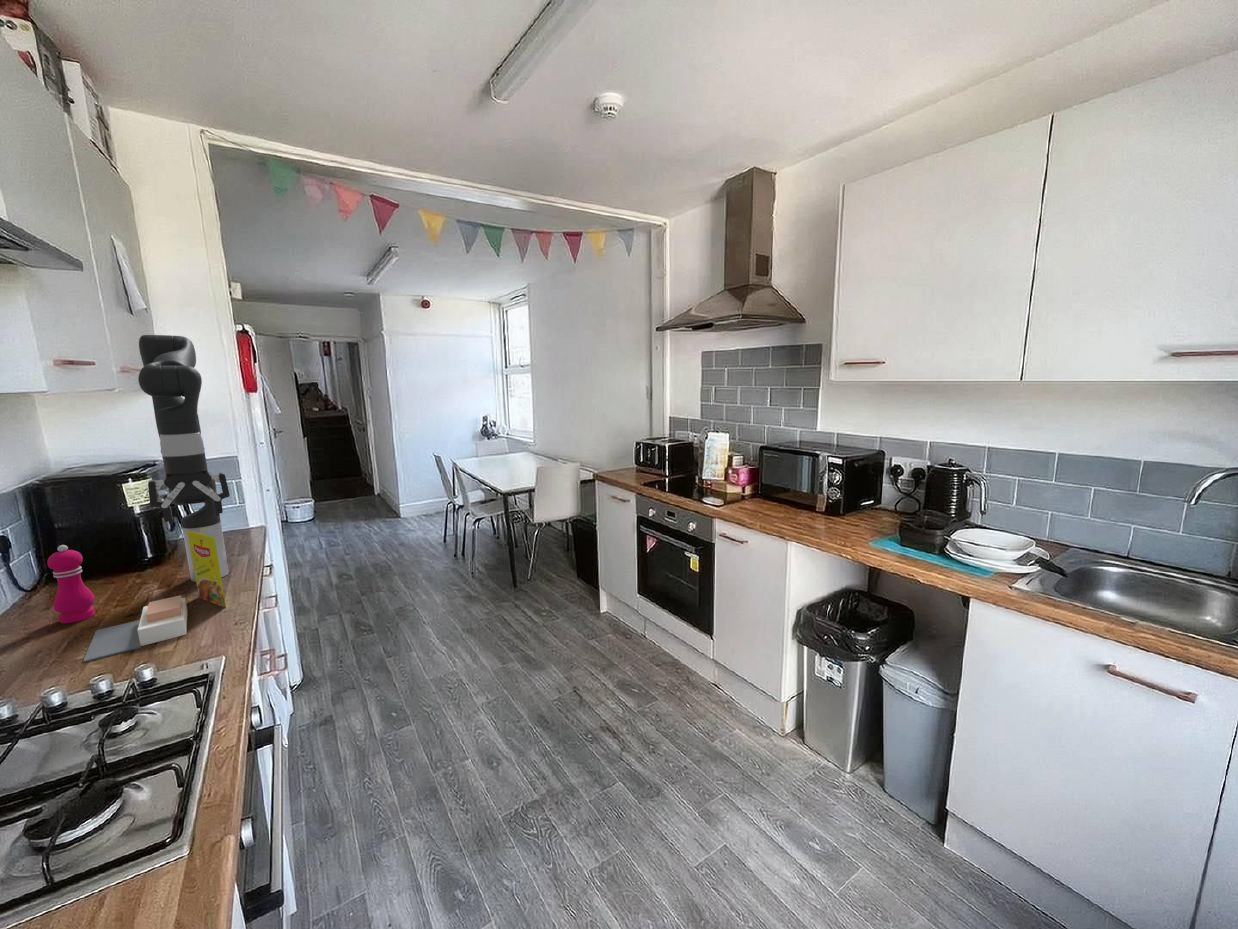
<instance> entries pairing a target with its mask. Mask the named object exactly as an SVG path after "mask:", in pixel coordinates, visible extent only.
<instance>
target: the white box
mask: <svg viewBox="0 0 1238 929" xmlns="http://www.w3.org/2000/svg"><path fill="white" fill-rule="evenodd" d="M181 598H182V611H181V615H178V616H174V617H169V618H165V619H161V620H157V621H153V622H147V617H146V613H147V609H148V605H146V606H143V608H142V613H141V615H140V616H141V617H140V619H139V620H140V623H139V626H138V635H139V641H140V646H141V647H142V646H147V645H150V644H155V643H158V642H162V641H166V640H170V639H174V638H178V637H182V636H185V635H187V628H188V626H187V625H188V605H187V600H186V597H181Z"/></svg>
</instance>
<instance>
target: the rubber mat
mask: <svg viewBox="0 0 1238 929" xmlns="http://www.w3.org/2000/svg"><path fill="white" fill-rule="evenodd" d="M139 623H140V619H139V620H138V619H137V620H134V621H131V622H125V623H121V624H120V623H119V624H118V625H113V626H108V627H105V628H100V629H96V630H95V632H94V634H93V637H92V640H91V642H90V644H89V646H88V649H87V651H86V653H85V655H84V658H83V660H82V662H83V664H85V663H88V662H92V661H95V660H99V659H103V658H106V657H107V658H108V657H111V656H115V655H120V654H123V653H126V652H130V651H134V650H138V649H141V647H142V646H140V641H139V635H138V626H139Z"/></svg>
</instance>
